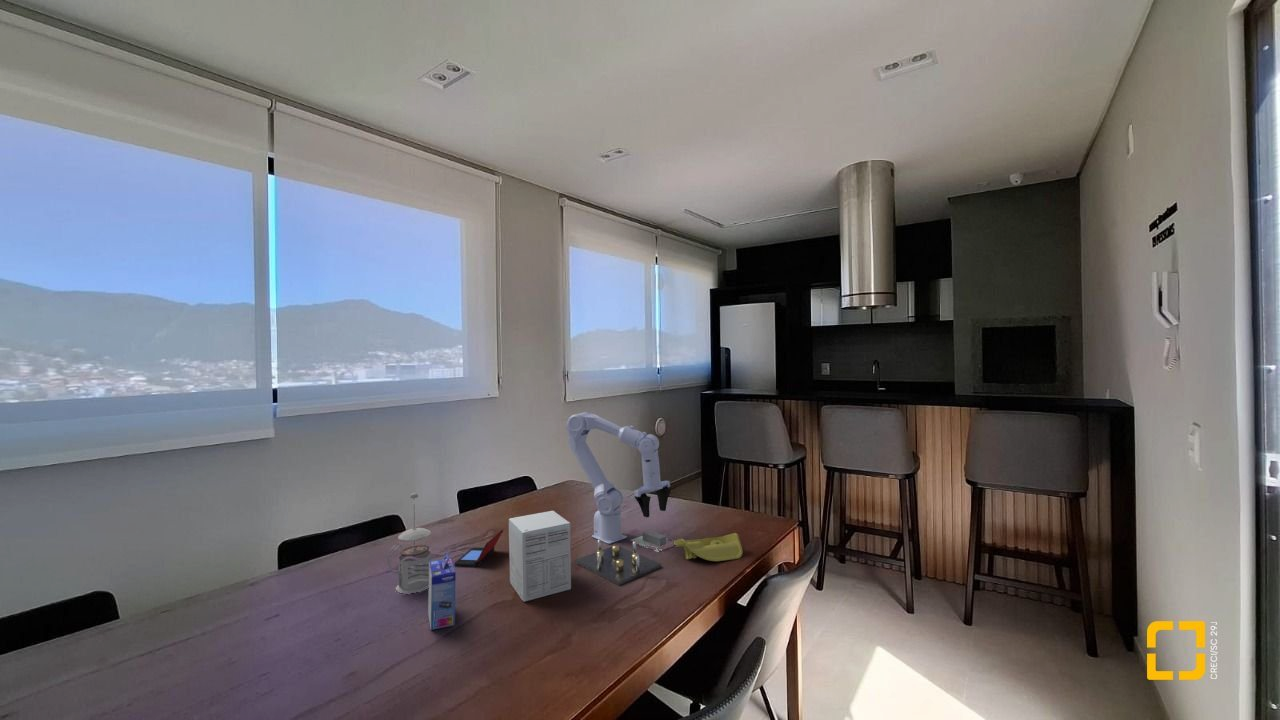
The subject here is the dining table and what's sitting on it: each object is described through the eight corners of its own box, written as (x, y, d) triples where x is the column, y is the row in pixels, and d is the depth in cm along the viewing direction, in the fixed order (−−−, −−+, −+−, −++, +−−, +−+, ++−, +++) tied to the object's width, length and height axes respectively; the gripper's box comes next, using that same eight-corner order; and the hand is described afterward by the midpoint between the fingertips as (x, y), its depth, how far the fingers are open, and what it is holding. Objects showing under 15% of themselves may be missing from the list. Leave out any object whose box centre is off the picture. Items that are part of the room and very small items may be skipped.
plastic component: (722, 536, 153) (739, 531, 145) (726, 561, 150) (744, 557, 142) (668, 542, 145) (683, 537, 137) (672, 568, 142) (687, 565, 134)
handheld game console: (472, 550, 151) (472, 527, 151) (504, 551, 150) (504, 528, 150) (452, 567, 139) (452, 542, 139) (487, 568, 138) (487, 543, 138)
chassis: (575, 563, 140) (575, 546, 140) (616, 548, 151) (616, 532, 151) (619, 585, 125) (618, 566, 125) (661, 567, 136) (661, 549, 136)
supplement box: (572, 589, 124) (571, 522, 124) (523, 603, 117) (522, 532, 117) (554, 570, 135) (553, 509, 135) (508, 582, 128) (507, 518, 128)
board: (629, 542, 157) (628, 533, 157) (650, 535, 164) (650, 525, 164) (658, 555, 147) (658, 544, 147) (680, 546, 153) (680, 535, 153)
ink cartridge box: (457, 625, 107) (456, 561, 107) (430, 632, 105) (429, 566, 105) (452, 606, 116) (451, 547, 116) (428, 611, 114) (427, 551, 114)
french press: (441, 584, 127) (440, 492, 128) (395, 601, 119) (394, 502, 119) (426, 574, 134) (424, 486, 134) (382, 588, 126) (380, 495, 126)
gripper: (643, 478, 147) (647, 521, 147) (675, 468, 157) (678, 509, 157) (628, 475, 153) (632, 517, 152) (660, 467, 162) (663, 506, 162)
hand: (654, 513), depth 155 cm, fingers open, 7 cm apart
